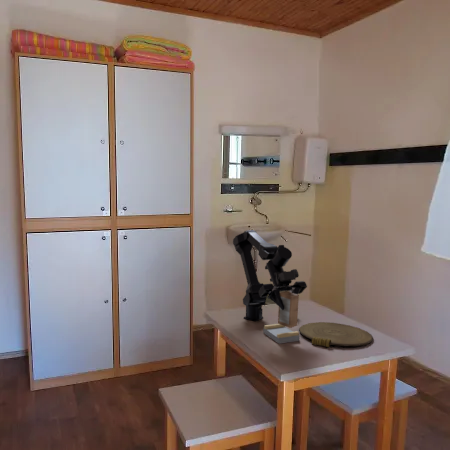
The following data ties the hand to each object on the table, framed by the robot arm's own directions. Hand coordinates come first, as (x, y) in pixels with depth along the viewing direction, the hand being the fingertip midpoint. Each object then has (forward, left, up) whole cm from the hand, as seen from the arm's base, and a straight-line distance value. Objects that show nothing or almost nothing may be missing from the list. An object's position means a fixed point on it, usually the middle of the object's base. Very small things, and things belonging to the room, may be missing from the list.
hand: (290, 308), depth 162 cm
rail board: (-5, +3, -13) cm, 14 cm away
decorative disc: (+10, +18, -13) cm, 25 cm away
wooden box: (-1, +1, -7) cm, 7 cm away
